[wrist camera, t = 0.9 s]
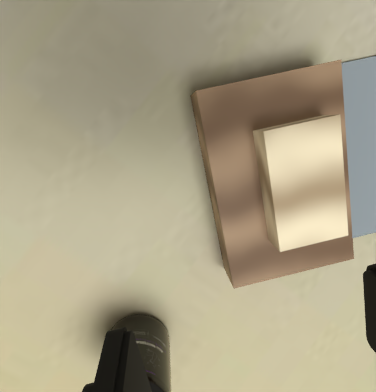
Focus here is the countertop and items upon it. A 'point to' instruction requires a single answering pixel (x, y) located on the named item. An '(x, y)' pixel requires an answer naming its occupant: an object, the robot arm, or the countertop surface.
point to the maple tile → (302, 181)
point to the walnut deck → (248, 167)
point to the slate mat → (361, 141)
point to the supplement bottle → (151, 349)
